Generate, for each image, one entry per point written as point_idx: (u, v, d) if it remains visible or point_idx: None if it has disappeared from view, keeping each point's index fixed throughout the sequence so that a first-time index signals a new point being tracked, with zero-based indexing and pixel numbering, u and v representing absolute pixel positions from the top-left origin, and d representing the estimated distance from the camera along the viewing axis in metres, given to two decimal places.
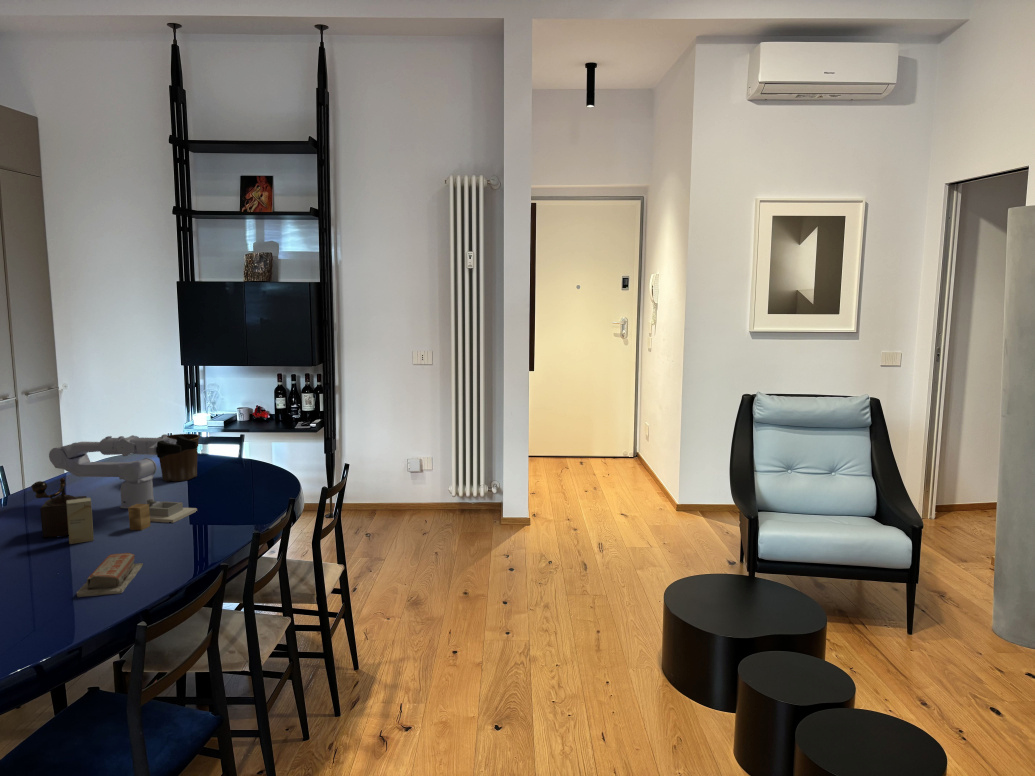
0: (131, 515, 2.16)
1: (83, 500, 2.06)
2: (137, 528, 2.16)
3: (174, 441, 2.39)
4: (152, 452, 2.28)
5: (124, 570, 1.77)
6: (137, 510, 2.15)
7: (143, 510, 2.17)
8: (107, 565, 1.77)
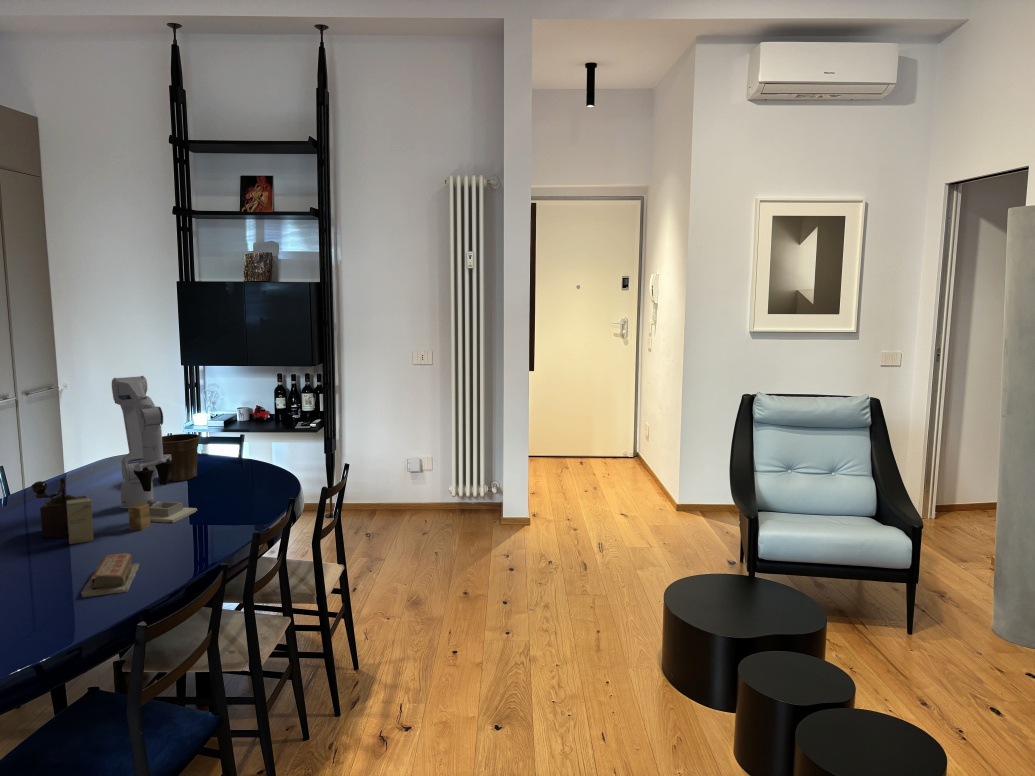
0: (131, 515, 2.16)
1: (83, 500, 2.06)
2: (137, 528, 2.16)
3: None
4: (136, 469, 2.17)
5: (126, 569, 1.78)
6: (137, 509, 2.15)
7: (144, 510, 2.17)
8: (107, 565, 1.77)
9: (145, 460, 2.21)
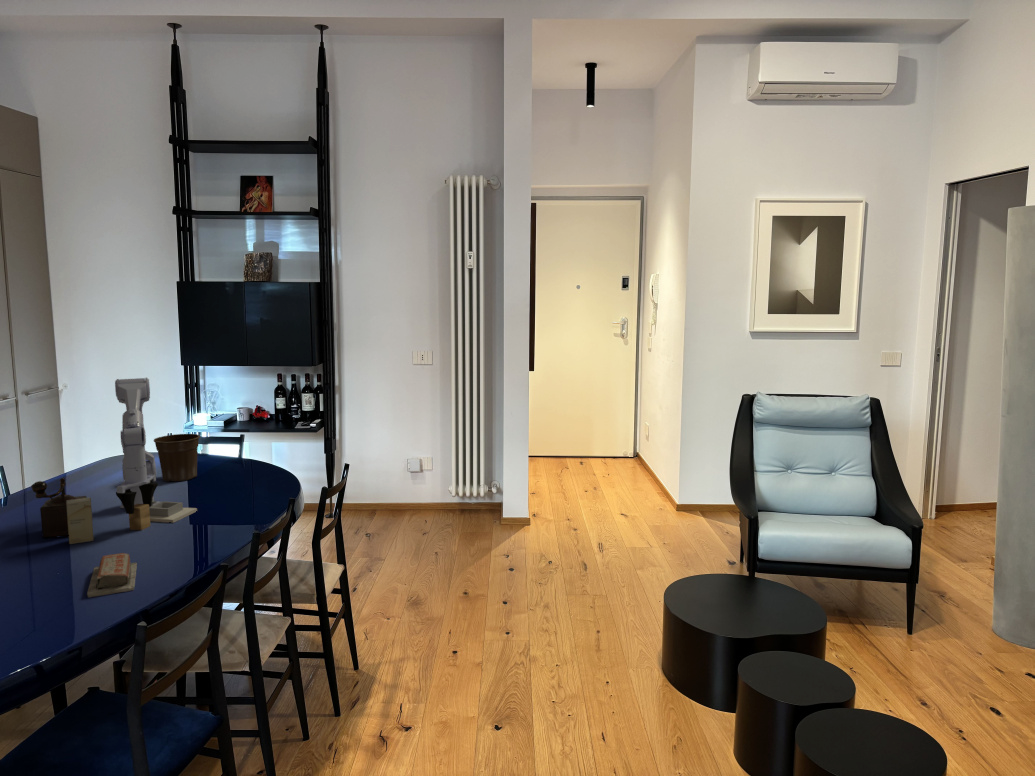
0: (131, 515, 2.16)
1: (83, 500, 2.06)
2: (137, 528, 2.16)
3: None
4: (118, 491, 2.09)
5: (128, 569, 1.78)
6: (137, 509, 2.15)
7: (143, 510, 2.17)
8: (109, 565, 1.77)
9: (128, 481, 2.14)
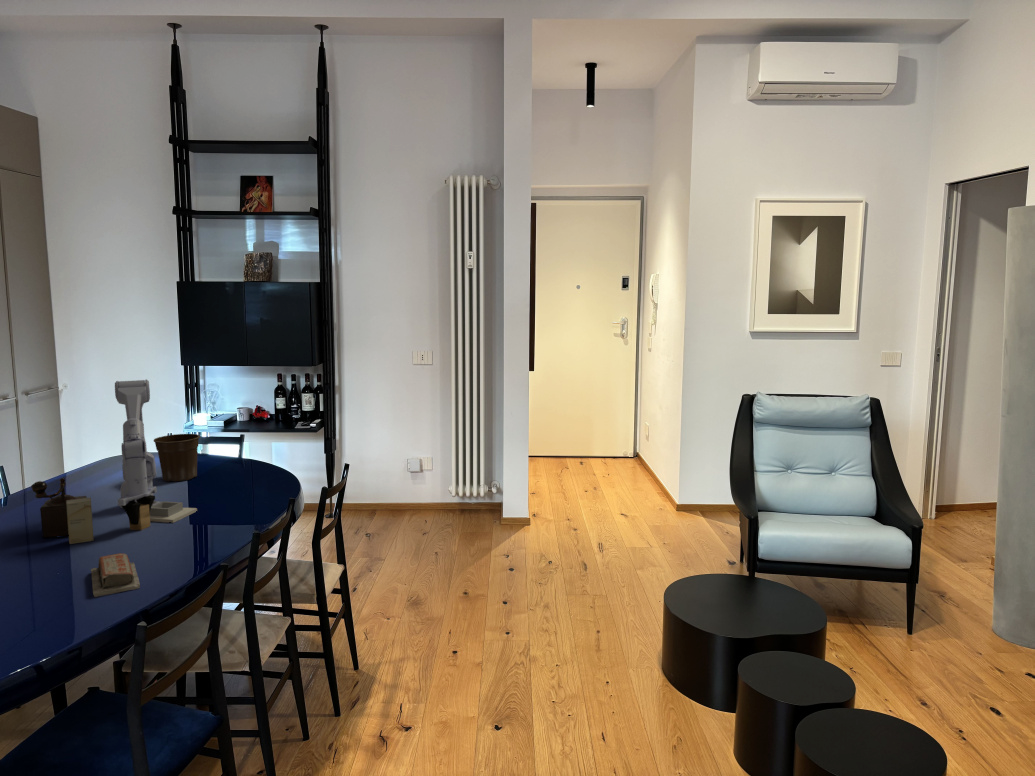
0: None
1: (83, 500, 2.06)
2: (137, 528, 2.16)
3: None
4: (119, 504, 2.10)
5: (131, 568, 1.79)
6: None
7: (143, 509, 2.17)
8: (111, 565, 1.77)
9: (129, 494, 2.14)
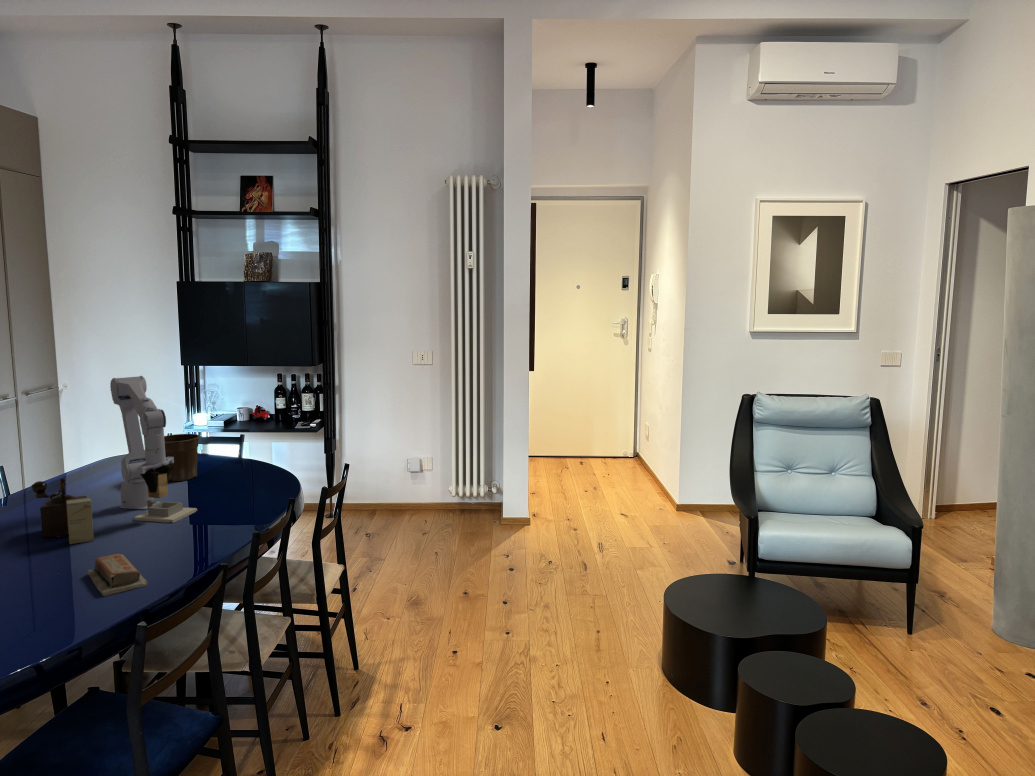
0: None
1: (83, 500, 2.06)
2: (155, 496, 2.24)
3: None
4: (138, 471, 2.18)
5: None
6: None
7: (162, 478, 2.25)
8: (114, 565, 1.78)
9: (147, 463, 2.22)
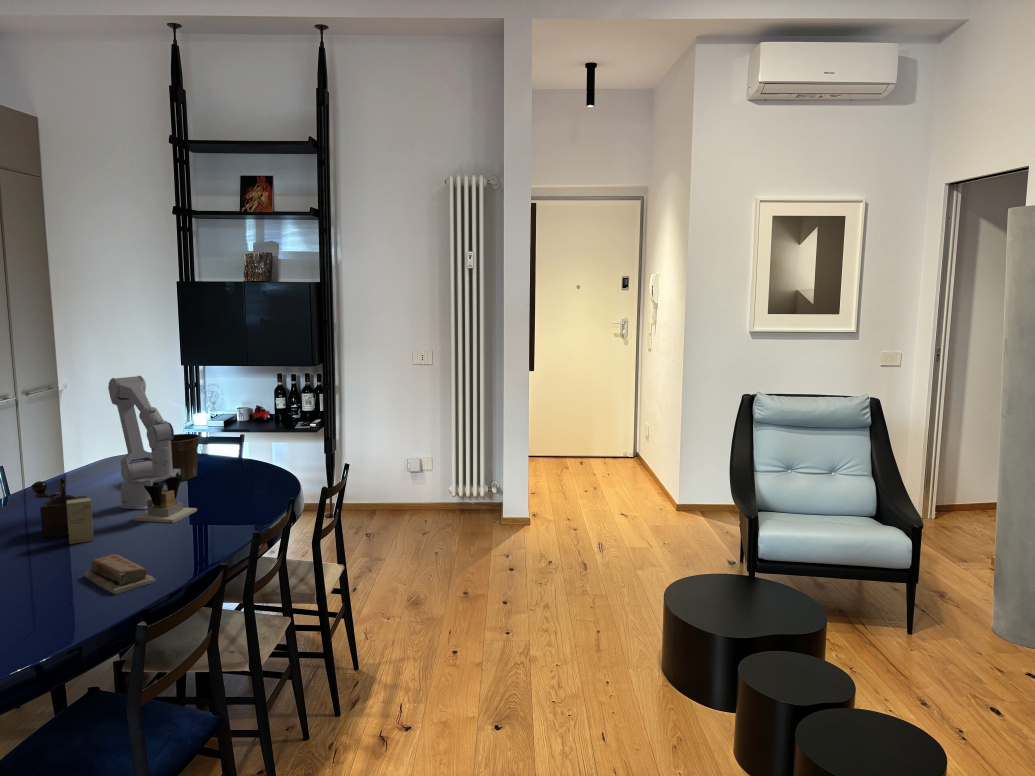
0: None
1: (83, 500, 2.06)
2: None
3: None
4: (146, 484, 2.21)
5: (137, 565, 1.81)
6: (163, 495, 2.27)
7: (169, 495, 2.28)
8: (117, 564, 1.78)
9: (155, 475, 2.26)
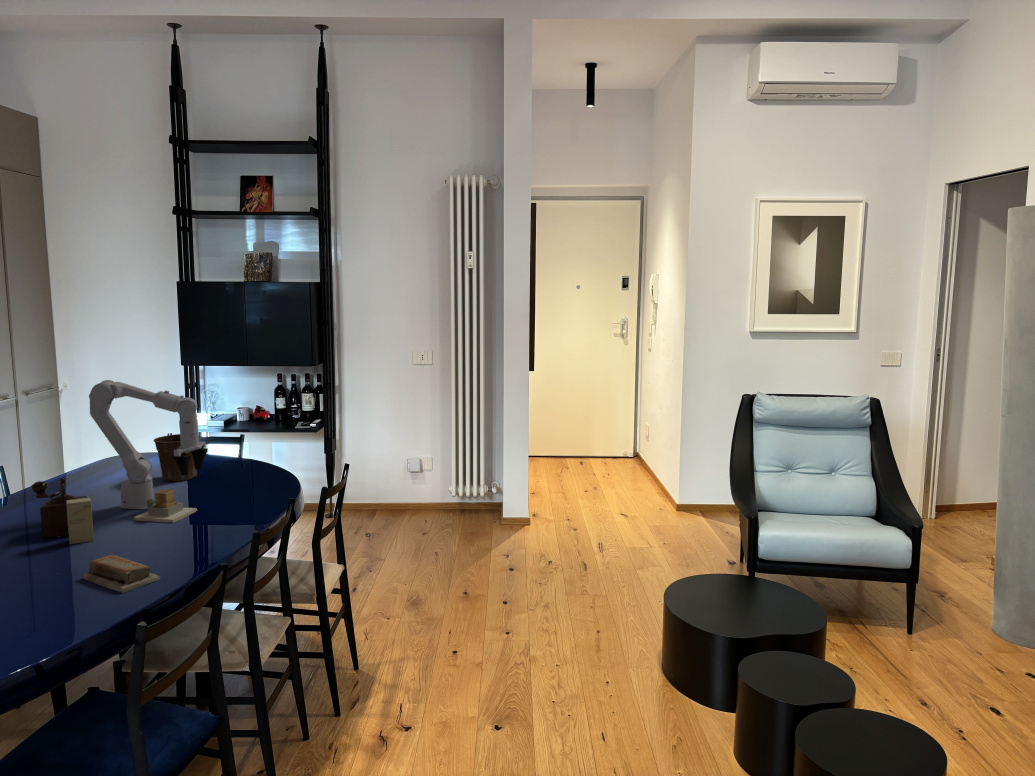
0: (157, 500, 2.28)
1: (83, 500, 2.06)
2: None
3: (200, 445, 2.47)
4: (175, 454, 2.36)
5: None
6: (163, 495, 2.27)
7: (169, 495, 2.28)
8: (119, 564, 1.78)
9: (183, 446, 2.40)
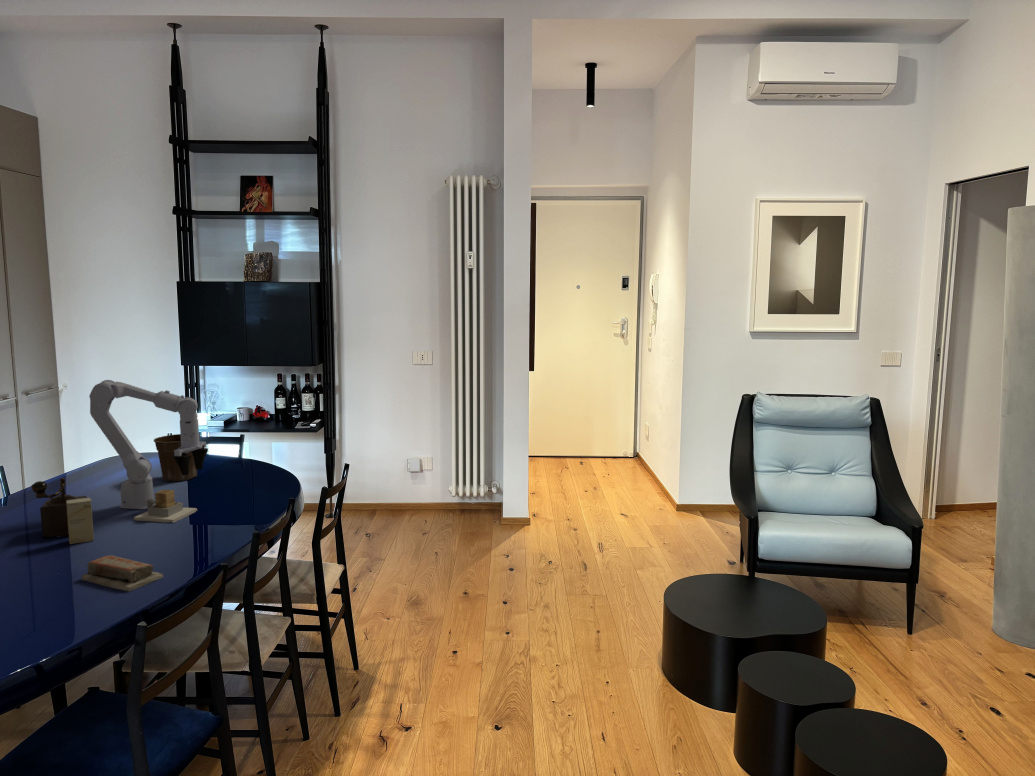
0: (157, 500, 2.28)
1: (83, 500, 2.06)
2: None
3: (200, 445, 2.47)
4: (175, 454, 2.36)
5: None
6: (163, 495, 2.27)
7: (169, 495, 2.28)
8: (120, 563, 1.79)
9: (183, 446, 2.41)
